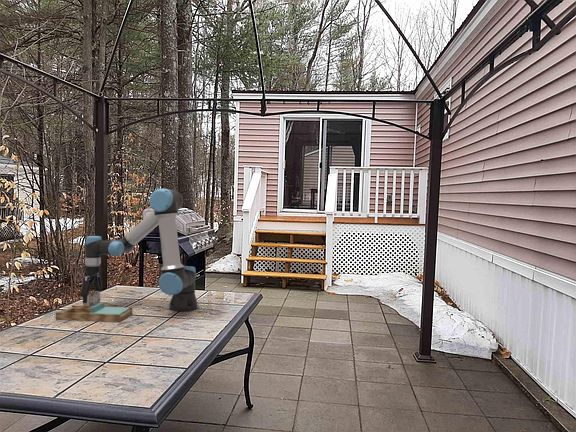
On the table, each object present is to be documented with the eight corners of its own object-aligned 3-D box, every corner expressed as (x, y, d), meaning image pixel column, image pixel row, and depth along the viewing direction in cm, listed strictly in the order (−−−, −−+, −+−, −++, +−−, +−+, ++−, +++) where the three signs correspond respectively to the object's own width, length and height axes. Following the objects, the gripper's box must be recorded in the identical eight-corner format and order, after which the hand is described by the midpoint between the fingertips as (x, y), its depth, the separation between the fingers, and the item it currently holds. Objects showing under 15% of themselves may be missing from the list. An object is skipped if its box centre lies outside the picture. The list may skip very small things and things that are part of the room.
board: (132, 314, 210) (132, 307, 210) (119, 322, 195) (120, 315, 195) (72, 311, 211) (72, 305, 211) (55, 319, 196) (55, 312, 196)
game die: (93, 315, 219) (94, 302, 213) (78, 309, 219) (79, 296, 214) (103, 304, 226) (104, 291, 221) (89, 297, 227) (90, 285, 221)
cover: (129, 309, 209) (129, 303, 209) (118, 316, 196) (119, 309, 196) (101, 308, 209) (102, 301, 209) (89, 314, 197) (89, 307, 196)
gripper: (96, 262, 232) (95, 300, 232) (73, 268, 208) (72, 311, 208) (110, 262, 232) (108, 301, 232) (88, 268, 208) (87, 311, 208)
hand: (91, 305), depth 220 cm, fingers open, 12 cm apart
